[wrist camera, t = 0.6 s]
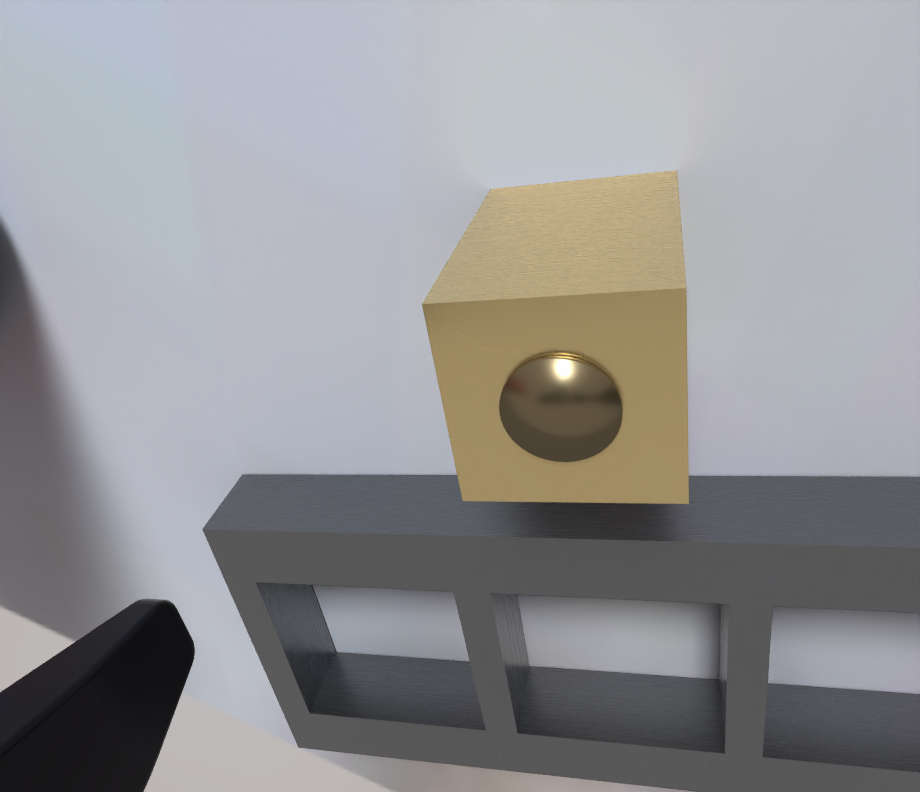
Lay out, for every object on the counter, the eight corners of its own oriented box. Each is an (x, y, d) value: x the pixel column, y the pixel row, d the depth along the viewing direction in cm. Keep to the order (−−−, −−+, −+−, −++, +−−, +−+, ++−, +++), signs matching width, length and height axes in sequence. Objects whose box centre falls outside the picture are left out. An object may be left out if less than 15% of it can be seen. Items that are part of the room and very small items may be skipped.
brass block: (677, 169, 16) (686, 292, 11) (680, 339, 18) (689, 509, 13) (490, 189, 17) (419, 308, 12) (513, 346, 19) (461, 506, 14)
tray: (1089, 477, 17) (1148, 553, 15) (1002, 744, 22) (1038, 829, 20) (242, 474, 23) (202, 529, 21) (324, 686, 28) (298, 747, 26)
